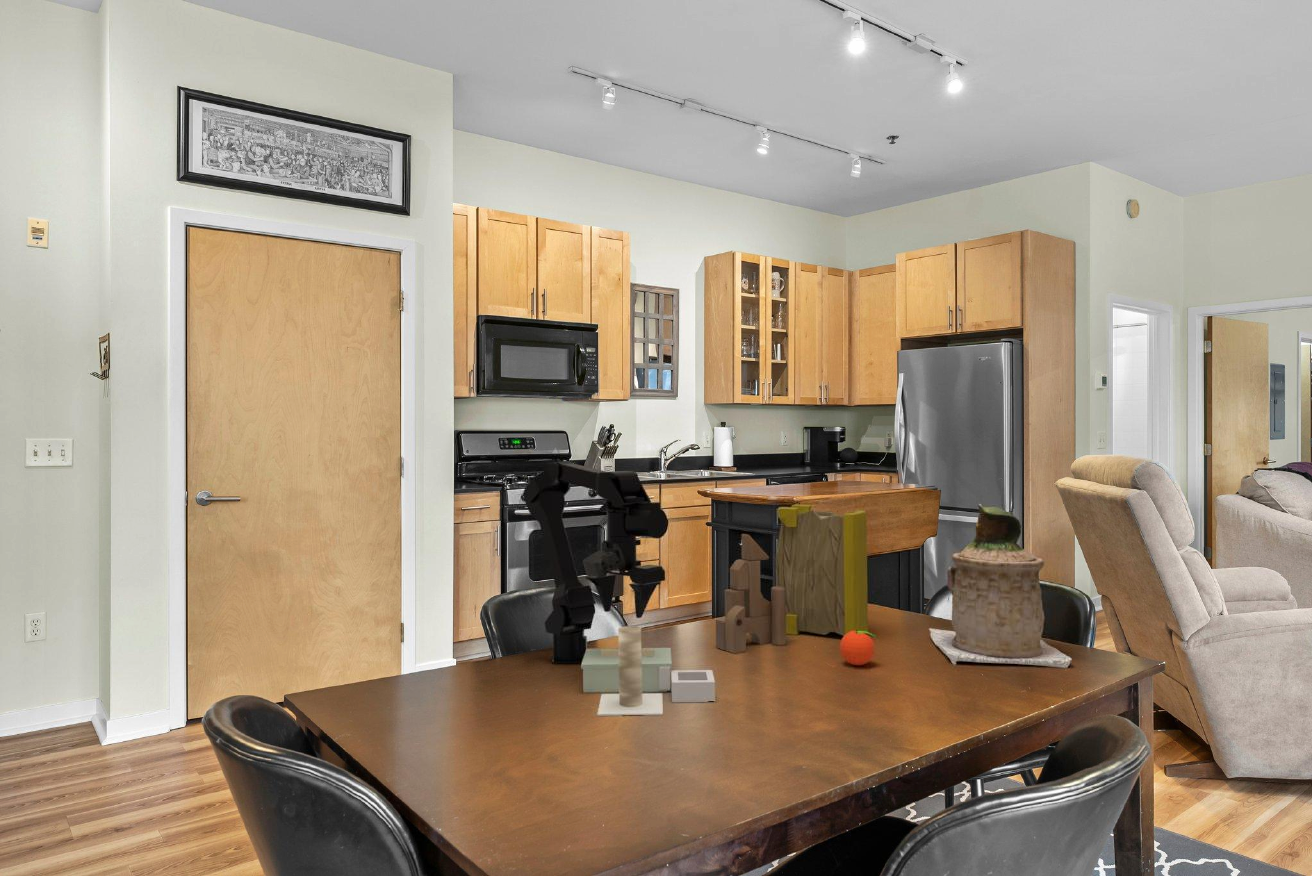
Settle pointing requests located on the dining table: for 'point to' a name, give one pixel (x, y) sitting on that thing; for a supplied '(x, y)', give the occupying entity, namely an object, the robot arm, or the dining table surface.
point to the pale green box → (647, 675)
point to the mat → (613, 708)
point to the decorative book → (823, 570)
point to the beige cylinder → (630, 666)
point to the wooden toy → (750, 605)
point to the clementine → (857, 647)
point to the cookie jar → (996, 599)
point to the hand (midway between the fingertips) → (622, 614)
